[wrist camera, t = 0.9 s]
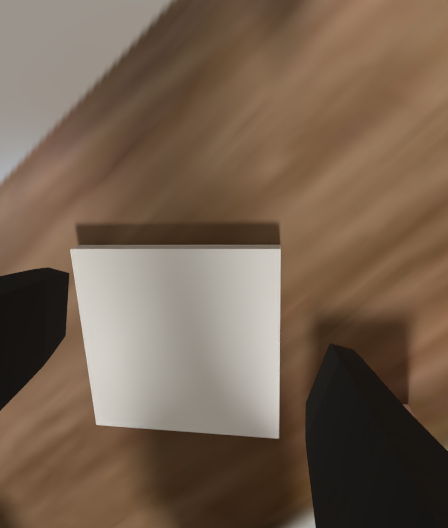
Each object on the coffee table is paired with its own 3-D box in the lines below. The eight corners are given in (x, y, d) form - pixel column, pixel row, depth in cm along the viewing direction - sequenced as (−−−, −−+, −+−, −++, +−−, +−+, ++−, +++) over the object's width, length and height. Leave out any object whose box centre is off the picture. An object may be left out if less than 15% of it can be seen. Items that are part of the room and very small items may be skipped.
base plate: (278, 426, 21) (279, 438, 20) (104, 413, 23) (96, 424, 22) (280, 244, 18) (280, 249, 18) (79, 244, 20) (70, 249, 19)
